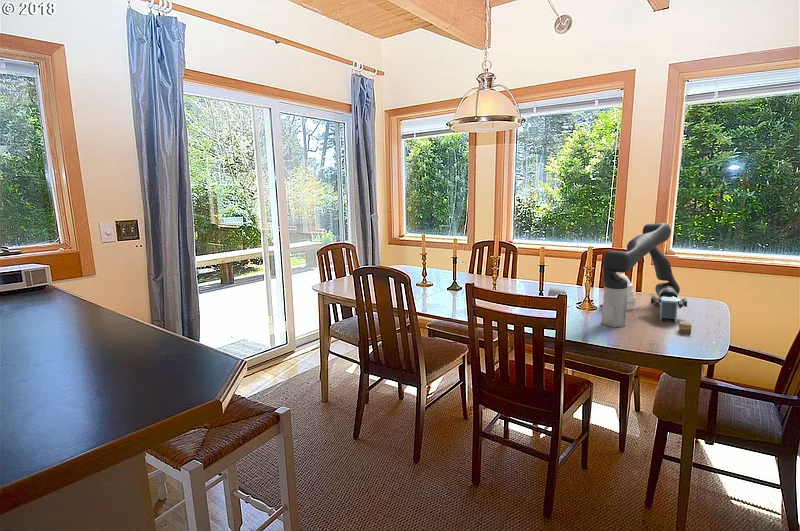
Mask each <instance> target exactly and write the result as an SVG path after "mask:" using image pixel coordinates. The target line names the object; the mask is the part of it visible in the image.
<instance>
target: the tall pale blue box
mask: <svg viewBox="0 0 800 531" xmlns="http://www.w3.org/2000/svg"><path fill="white" fill-rule="evenodd" d="M677 305H678V300H677V298H674V297H661V305H660V308H659V309H660V310H659V322H660V323H661V322H662V319H669V320H670V319H671V320H674V324H677V318H678V317H677V314H678V306H677Z"/></svg>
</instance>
